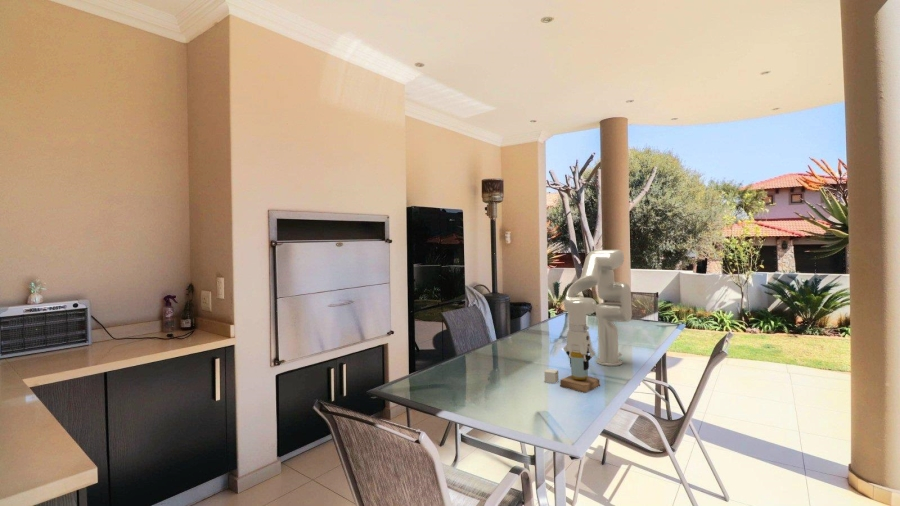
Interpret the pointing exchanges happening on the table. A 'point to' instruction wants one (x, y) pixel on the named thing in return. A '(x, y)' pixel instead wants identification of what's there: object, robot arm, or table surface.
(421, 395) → the table surface
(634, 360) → the table surface
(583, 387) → the plinth
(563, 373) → the table surface
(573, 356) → the bottle
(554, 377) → the stone cube
